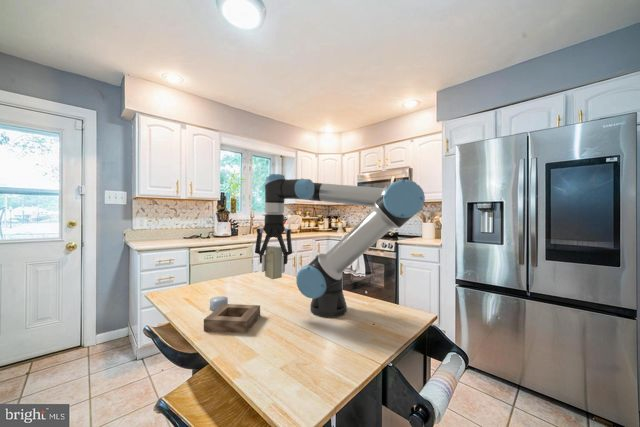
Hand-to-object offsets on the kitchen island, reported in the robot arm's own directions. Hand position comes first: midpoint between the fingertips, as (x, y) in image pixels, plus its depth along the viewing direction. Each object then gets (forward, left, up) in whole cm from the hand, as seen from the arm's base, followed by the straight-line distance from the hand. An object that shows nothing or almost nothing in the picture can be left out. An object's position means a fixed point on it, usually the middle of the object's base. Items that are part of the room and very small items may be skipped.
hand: (273, 271), depth 105 cm
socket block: (+12, +9, -17) cm, 23 cm away
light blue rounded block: (+24, -4, -17) cm, 30 cm away
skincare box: (0, 0, -2) cm, 2 cm away
